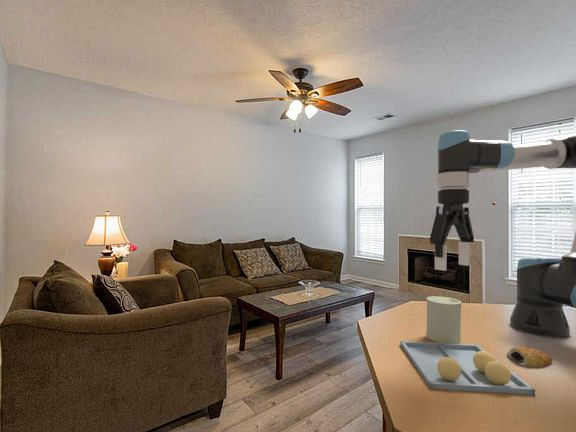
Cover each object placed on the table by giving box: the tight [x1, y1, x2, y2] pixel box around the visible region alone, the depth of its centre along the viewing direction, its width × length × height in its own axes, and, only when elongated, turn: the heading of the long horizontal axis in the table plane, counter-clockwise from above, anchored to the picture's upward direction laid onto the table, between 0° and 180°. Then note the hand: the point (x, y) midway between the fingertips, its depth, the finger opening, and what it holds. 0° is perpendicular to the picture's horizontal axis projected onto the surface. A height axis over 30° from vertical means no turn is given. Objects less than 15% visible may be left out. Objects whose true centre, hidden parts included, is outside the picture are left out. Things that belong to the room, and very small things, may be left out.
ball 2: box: [485, 360, 511, 385], centre depth 66 cm, size 5×5×5 cm
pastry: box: [506, 346, 553, 368], centre depth 78 cm, size 9×7×4 cm
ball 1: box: [473, 350, 497, 373], centre depth 71 cm, size 5×5×5 cm
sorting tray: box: [400, 340, 536, 396], centre depth 74 cm, size 20×22×2 cm
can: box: [425, 295, 463, 344], centre depth 92 cm, size 9×9×12 cm
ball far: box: [437, 357, 461, 381], centre depth 68 cm, size 5×5×5 cm
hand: (452, 267), depth 86 cm, fingers open, 13 cm apart
